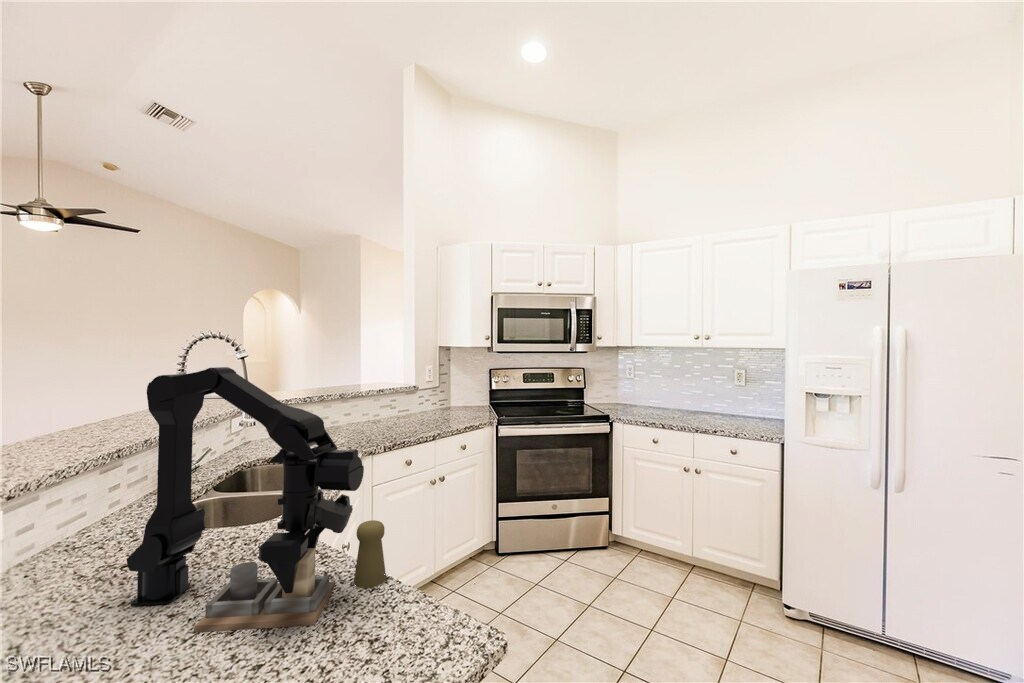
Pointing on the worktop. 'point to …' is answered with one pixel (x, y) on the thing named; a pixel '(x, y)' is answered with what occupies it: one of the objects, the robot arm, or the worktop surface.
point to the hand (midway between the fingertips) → (299, 578)
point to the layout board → (261, 603)
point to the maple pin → (304, 577)
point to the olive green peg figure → (370, 555)
